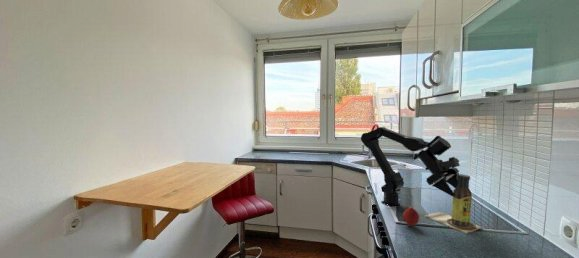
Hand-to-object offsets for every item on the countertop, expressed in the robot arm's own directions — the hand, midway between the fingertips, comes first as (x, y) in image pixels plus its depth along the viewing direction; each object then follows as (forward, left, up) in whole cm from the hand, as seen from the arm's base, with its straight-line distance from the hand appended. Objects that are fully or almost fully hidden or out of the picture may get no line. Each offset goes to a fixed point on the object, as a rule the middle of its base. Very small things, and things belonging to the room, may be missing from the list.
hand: (458, 193), depth 103 cm
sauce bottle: (+1, 0, -12) cm, 12 cm away
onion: (-6, -19, -13) cm, 24 cm away
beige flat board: (-2, 0, -13) cm, 13 cm away
